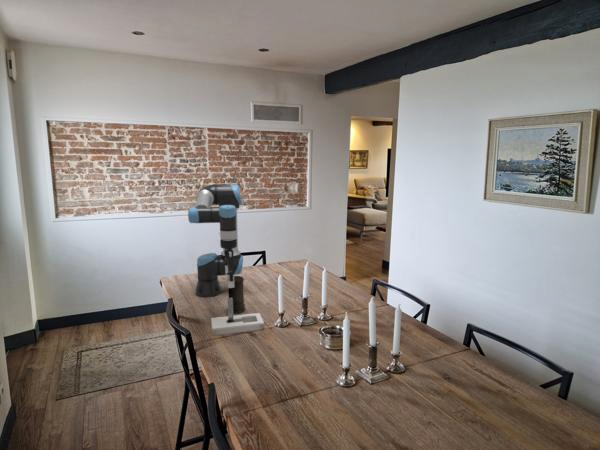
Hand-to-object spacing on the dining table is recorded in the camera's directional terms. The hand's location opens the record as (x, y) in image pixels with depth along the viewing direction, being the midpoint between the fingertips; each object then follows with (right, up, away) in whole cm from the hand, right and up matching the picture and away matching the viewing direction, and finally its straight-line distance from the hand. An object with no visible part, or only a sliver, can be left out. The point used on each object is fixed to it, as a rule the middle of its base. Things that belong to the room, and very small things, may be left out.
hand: (229, 282), depth 185 cm
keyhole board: (+3, -22, +5) cm, 23 cm away
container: (-1, -19, +24) cm, 31 cm away
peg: (0, -22, +4) cm, 23 cm away
